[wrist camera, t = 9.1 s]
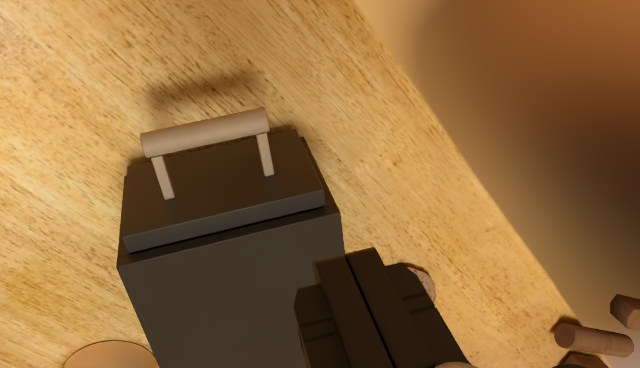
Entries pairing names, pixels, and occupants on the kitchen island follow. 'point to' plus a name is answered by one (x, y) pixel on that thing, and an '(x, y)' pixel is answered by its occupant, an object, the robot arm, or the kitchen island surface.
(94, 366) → the pill bottle
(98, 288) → the kitchen island surface
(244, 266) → the cabinet
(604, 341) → the wood blocks
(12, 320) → the kitchen island surface
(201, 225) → the drawer
